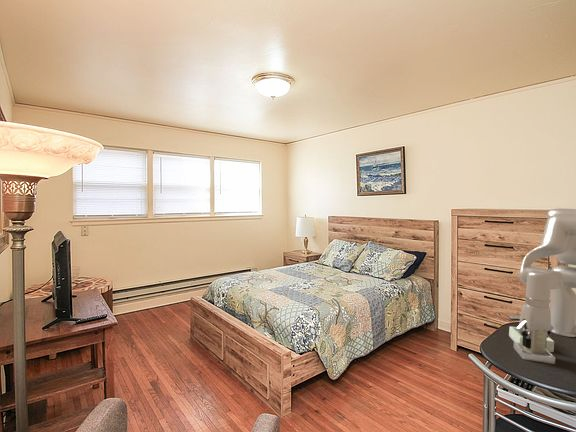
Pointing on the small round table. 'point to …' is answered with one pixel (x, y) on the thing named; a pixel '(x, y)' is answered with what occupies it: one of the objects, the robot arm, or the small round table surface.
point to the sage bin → (517, 337)
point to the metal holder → (534, 357)
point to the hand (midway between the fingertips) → (533, 346)
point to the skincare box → (537, 341)
